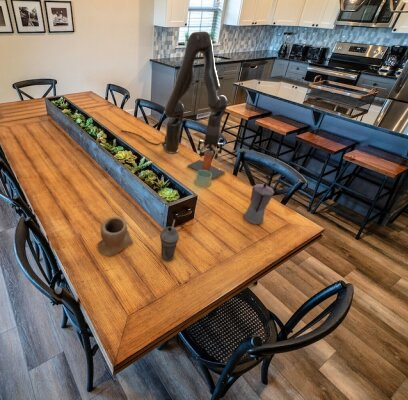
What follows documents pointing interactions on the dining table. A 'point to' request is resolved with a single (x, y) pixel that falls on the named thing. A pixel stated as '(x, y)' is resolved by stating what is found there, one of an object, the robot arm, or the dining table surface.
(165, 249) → the beverage cup
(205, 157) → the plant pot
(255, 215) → the moka pot
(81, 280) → the dining table surface
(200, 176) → the cup
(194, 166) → the slate board
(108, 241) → the stone cup
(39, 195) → the dining table surface
